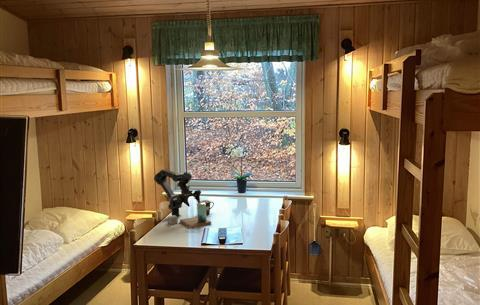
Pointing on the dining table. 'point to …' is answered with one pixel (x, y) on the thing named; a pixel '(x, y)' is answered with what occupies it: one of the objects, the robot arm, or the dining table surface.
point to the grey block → (172, 219)
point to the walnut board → (194, 222)
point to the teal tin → (201, 212)
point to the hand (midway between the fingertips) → (194, 205)
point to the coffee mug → (207, 206)
